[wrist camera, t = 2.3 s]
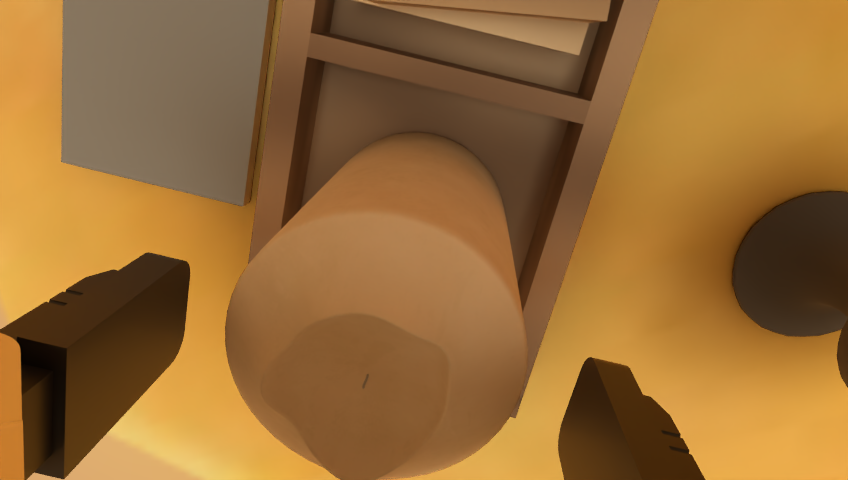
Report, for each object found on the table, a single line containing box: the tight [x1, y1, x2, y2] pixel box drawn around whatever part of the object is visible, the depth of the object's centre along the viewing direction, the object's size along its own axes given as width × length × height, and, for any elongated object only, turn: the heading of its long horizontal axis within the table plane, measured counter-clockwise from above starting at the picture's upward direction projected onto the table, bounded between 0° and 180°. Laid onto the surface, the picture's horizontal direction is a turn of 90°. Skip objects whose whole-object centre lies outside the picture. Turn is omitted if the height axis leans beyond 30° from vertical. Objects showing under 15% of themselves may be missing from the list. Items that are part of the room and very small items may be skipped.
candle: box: [225, 132, 528, 480], centre depth 14 cm, size 6×6×10 cm
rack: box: [248, 0, 659, 418], centre depth 15 cm, size 17×9×5 cm, turn 167°
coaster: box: [61, 0, 276, 206], centre depth 18 cm, size 7×6×1 cm
